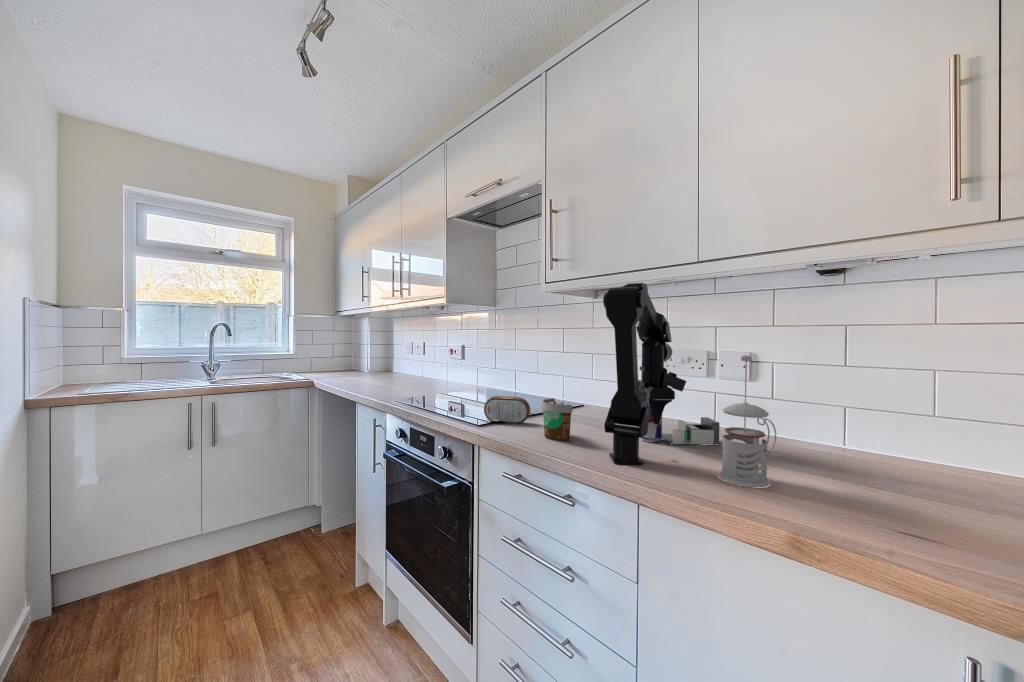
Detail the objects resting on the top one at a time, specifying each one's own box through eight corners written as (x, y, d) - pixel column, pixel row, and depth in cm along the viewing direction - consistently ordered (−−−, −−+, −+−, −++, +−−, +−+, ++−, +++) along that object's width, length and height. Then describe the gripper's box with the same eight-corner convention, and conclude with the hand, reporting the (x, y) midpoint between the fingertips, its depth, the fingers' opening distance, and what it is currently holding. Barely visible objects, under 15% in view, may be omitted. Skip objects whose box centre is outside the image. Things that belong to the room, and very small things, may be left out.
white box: (702, 441, 106) (702, 426, 105) (687, 440, 106) (688, 425, 106) (691, 434, 113) (691, 420, 113) (677, 433, 113) (677, 419, 113)
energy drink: (650, 444, 107) (651, 398, 107) (636, 439, 112) (637, 395, 112) (666, 442, 109) (666, 397, 109) (651, 437, 114) (652, 394, 114)
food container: (533, 432, 118) (534, 398, 118) (553, 431, 120) (553, 397, 119) (550, 444, 106) (551, 406, 106) (571, 442, 108) (572, 405, 108)
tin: (530, 422, 131) (530, 396, 131) (528, 425, 128) (529, 398, 128) (485, 420, 134) (485, 395, 134) (482, 422, 131) (483, 396, 131)
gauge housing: (719, 445, 106) (720, 423, 106) (668, 444, 107) (669, 421, 107) (707, 438, 113) (708, 417, 113) (660, 437, 114) (660, 416, 114)
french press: (705, 472, 85) (708, 353, 85) (752, 469, 88) (755, 354, 87) (741, 490, 76) (743, 356, 75) (793, 486, 78) (796, 356, 78)
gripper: (696, 366, 101) (695, 429, 101) (671, 361, 119) (670, 414, 119) (651, 366, 101) (649, 428, 101) (632, 361, 120) (632, 413, 120)
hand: (651, 420), depth 111 cm, fingers open, 9 cm apart
